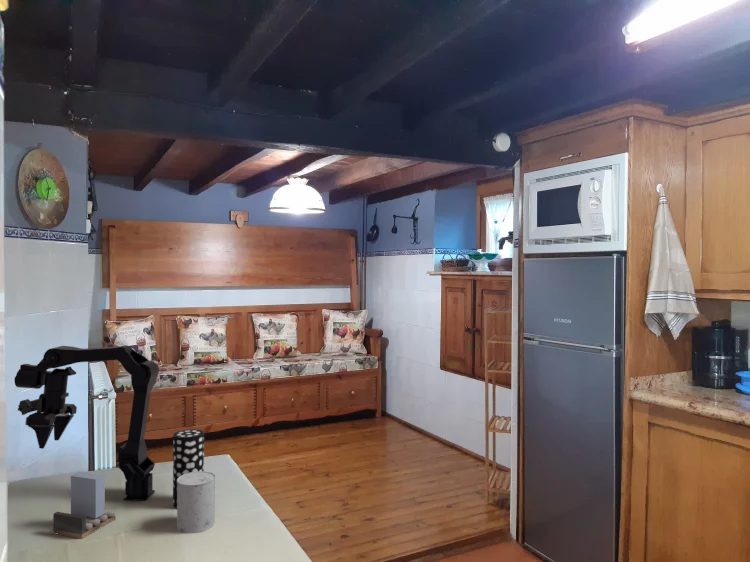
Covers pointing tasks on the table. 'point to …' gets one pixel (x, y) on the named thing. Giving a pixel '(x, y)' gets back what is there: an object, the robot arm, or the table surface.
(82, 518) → the roller track
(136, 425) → the robot arm
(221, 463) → the table surface
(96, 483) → the slab
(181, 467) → the spotted tube
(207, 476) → the speckled concrete cylinder
